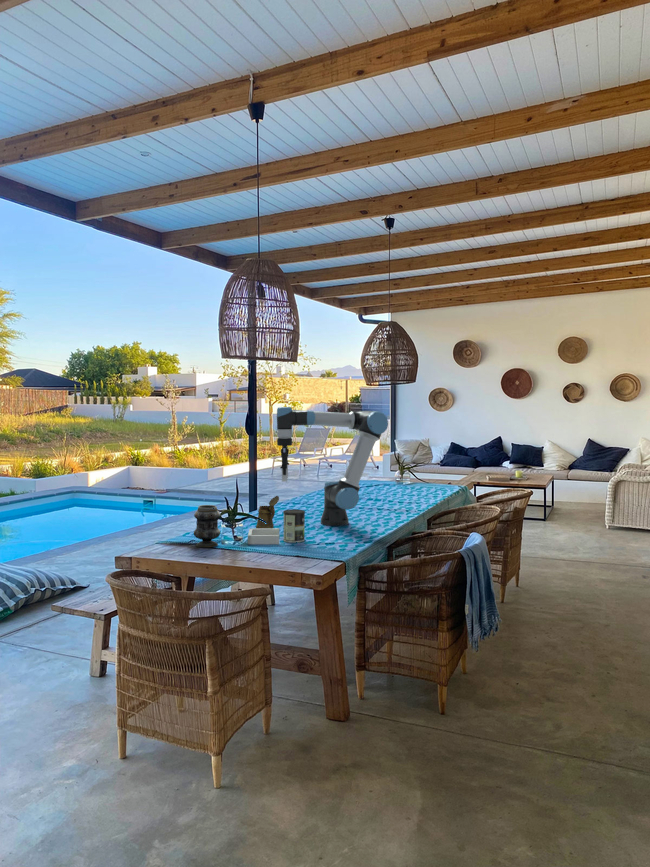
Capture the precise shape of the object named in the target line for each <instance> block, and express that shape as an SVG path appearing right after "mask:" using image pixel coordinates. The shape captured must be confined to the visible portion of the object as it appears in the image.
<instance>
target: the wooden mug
mask: <svg viewBox="0 0 650 867" xmlns="http://www.w3.org/2000/svg"><path fill="white" fill-rule="evenodd" d="M279 500H280V497H279V496H278V495H276V496H274V497H273V498H271V499H270V500H269V502H268V504H269V505H259V508H258V514H257V515H258V516H257V520H256V525H255V526H256V527H255V529H259V528H274V522H273V521H274V520H273V519H274V517H275V514H276V511H275V507H274V506H276V505H277V504H278V502H279ZM258 518H261V519H263V520H264V521H266V523H267V524H265V523H264V522H262V521H260V520H258Z"/></svg>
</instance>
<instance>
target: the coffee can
mask: <svg viewBox="0 0 650 867" xmlns="http://www.w3.org/2000/svg"><path fill="white" fill-rule="evenodd" d="M282 513H283V539H282V540H283V542H285V543H290V544H291V543H296V542H297V543H302V542H305V526H306V525H305V523H306V521H305V518H306V516H305V513H306V511H305V510H303V509H295V508H294V509H291V508H290V509H285V510H283V512H282Z"/></svg>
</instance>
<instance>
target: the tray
mask: <svg viewBox="0 0 650 867" xmlns="http://www.w3.org/2000/svg"><path fill="white" fill-rule="evenodd" d="M247 545H280V528H276V527H275V528H274V527H273V528H259V529H257V528H248V533H247Z"/></svg>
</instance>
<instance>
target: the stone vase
mask: <svg viewBox="0 0 650 867" xmlns="http://www.w3.org/2000/svg"><path fill="white" fill-rule="evenodd" d="M213 508H214V509H213ZM211 515H212V516H211ZM193 516H194V518H195V519H196V528H195V529H194V531H193V536H194V537H195V538H197V539H198V540H201V541H199V542H197V543H196V544H195V545H196V547H199V548H213V547H217V546H218V545H219V544H218V542H216V541H213V540H215V539H217V538H218V537H219V536H221V530H220V529H219V528H218V527H219V524H218V522H219V519H220V517H221V513H220V511H219V510H218V507H217V506H216V505H213V504H201V505H199V506H198V507H197V510H195V511H194V514H193Z"/></svg>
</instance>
